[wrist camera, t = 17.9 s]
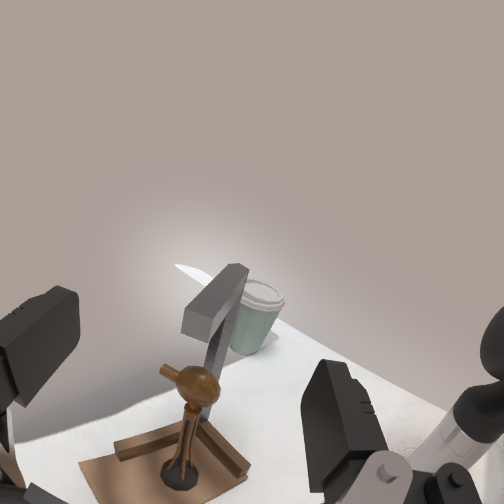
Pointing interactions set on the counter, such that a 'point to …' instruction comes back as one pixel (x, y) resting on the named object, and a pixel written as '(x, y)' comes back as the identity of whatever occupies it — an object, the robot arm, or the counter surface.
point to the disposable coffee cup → (255, 316)
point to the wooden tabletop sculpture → (188, 422)
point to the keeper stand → (166, 438)
